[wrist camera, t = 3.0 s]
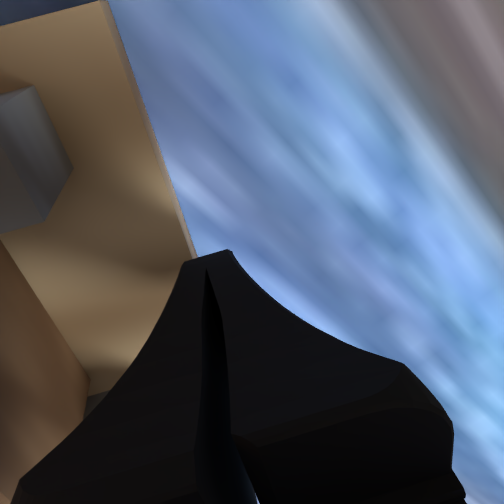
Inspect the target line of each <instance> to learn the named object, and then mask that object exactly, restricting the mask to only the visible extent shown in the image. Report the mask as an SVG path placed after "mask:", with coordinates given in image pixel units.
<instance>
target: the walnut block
mask: <svg viewBox="0 0 504 504" xmlns="http://www.w3.org/2000/svg"><path fill="white" fill-rule="evenodd" d="M90 381H91V379H90V378H89V376H88V375H87V373H86V372H85V370H84V368H83V367H82V365H81V364H80V362H79V361H78V359H77V358H76V356H75V354H74V353H73V351H72V350H71V348H70V347H69V345H68V344H67V342H66V341H65V339H64V337H63V336H62V334H61V333H60V331H59V330H58V328H57V327H56V325H55V324H54V322H53V320H52V319H51V317H50V316H49V314H48V313H47V311H46V310H45V308H44V306H43V305H42V303H41V302H40V300H39V299H38V297H37V296H36V294H35V293H34V291H33V289H32V288H31V286H30V285H29V283H28V282H27V280H26V279H25V277H24V275H23V274H22V272H21V271H20V269H19V268H18V266H17V265H16V263H15V262H14V260H13V258H12V257H11V255H10V254H9V252H8V251H7V249H6V248H5V246H4V245H3V243H2V241H1V240H0V504H10V503H11V501H12V498H13V495H14V493H15V490H16V487H17V485H18V482H19V479H20V478H21V477H22V476H24V475H25V474H26V473H27V472H28V471H30V470H31V469H32V468H33V467H34V466H35V465H36V464H37V463H38V462H39V461H41V460H42V459H43V458H44V457H45V456H46V455H47V454H48V453H49V452H51V451H52V450H53V449H54V448H55V447H56V446H57V445H58V444H59V443H61V442H62V441H63V440H64V439H65V438H66V437H67V436H68V435H69V434H70V433H71V432H72V431H73V430H74V429H75V428H76V427H77V426H78V425H79V424H80V423H81V422H82V421H83V417H84V412H85V407H86V401H87V396H88V391H89V386H90Z"/></svg>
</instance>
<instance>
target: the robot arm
mask: <svg viewBox="0 0 504 504" xmlns="http://www.w3.org/2000/svg"><path fill="white" fill-rule="evenodd" d="M453 442H454V430H453V423H452V421H451V420H450V418H449V417H448V415H447V413H446V411H445V410H444V408H443V407H442V405H441V404H440V403H439V401H438V400H437V399H436V398H435V396H434V395H433V394H432V393H431V392H430V391H429V390H428V388H427V387H426V386H425V385H424V384H423V383H422V382H421V381H420V380H419V379H418V378H417V377H416V375H415V374H414V373H413V372H412V371H411V370H410V369H409V368H408V367H407V366H406V365H405V364H403V363H401V362H398V361H395V360H392V359H389V358H386V357H382V356H379V355H376V354H373V353H370V352H367V351H364V350H362V349H359V348H357V347H354V346H352V345H349V344H347V343H345V342H343V341H341V340H339V339H337V338H335V337H333V336H331V335H329V334H327V333H325V332H323V331H321V330H319V329H317V328H315V327H314V326H312V325H310V324H309V323H307V322H306V321H304V320H302V319H301V318H299V317H298V316H296V315H295V314H293V313H292V312H290V311H289V310H288V309H286V308H285V307H284V306H282V305H281V304H280V303H278V302H277V301H276V300H275V299H274V298H272V297H271V296H270V295H269V294H268V293H266V292H265V291H264V290H263V289H262V288H261V287H260V286H259V285H258V284H257V283H256V282H255V281H254V280H253V279H252V278H251V277H250V276H249V275H248V274H247V273H246V271H245V270H244V269H243V268H242V266H241V265H240V264H239V263H238V261H237V260H236V258H235V256H234V255H233V252H232V251H230V250H228V249H226V250H223V251H219V252H216V253H212V254H209V255H205V256H202V257H198V258H195V259H191V260H188V261H184V263H183V264H182V266H181V268H180V271H179V274H178V277H177V279H176V282H175V284H174V287H173V289H172V292H171V294H170V296H169V298H168V300H167V303H166V305H165V307H164V309H163V311H162V313H161V315H160V317H159V319H158V321H157V323H156V324H155V326H154V328H153V330H152V332H151V334H150V336H149V337H148V339H147V341H146V342H145V344H144V345H143V347H142V349H141V350H140V352H139V353H138V355H137V356H136V358H135V359H134V361H133V362H132V363H131V365H130V366H129V368H128V369H127V370H126V371H125V373H124V374H123V375H122V376H121V378H120V379H119V380H118V381H117V382H116V384H115V385H114V386H113V387H112V389H111V390H110V391H109V392H108V394H107V395H106V396H105V397H104V398H103V399H102V401H101V402H100V403H99V404H98V405H97V406H96V407H95V408H94V409H93V410H92V411H91V413H90V414H89V415H88V416H87V417H86V418H85V419H84V420H83V421H82V422H81V423H80V424H79V425H78V426H77V427H76V428H75V429H74V430H73V431H72V432H71V433H70V434H69V435H68V436H67V437H66V438H65V439H64V440H63V441H62V442H61V443H59V444H58V445H57V446H56V447H55V448H54V449H53V450H52V451H51V452H49V453H48V454H47V455H46V456H45V457H44V458H43V459H42V460H41V461H39V462H38V463H37V464H36V465H35V466H34V467H33V468H32V469H31V470H30V471H28V472H27V473H26V474H25V475H24V476H22V477H21V478H20V479H19V482H18V485H17V487H16V490H15V493H14V495H13V498H12V501H11V503H10V504H257V499H256V496H257V498H258V501H259V503H260V504H467V503H466V502H465V500H464V498H465V497H466V493H465V490H464V488H463V486H462V484H461V483H460V481H459V480H458V478H457V476H456V475H455V473H454V472H453V470H452V456H453ZM255 493H256V495H255Z"/></svg>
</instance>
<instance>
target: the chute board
mask: <svg viewBox="0 0 504 504" xmlns="http://www.w3.org/2000/svg"><path fill="white" fill-rule="evenodd" d="M0 240H1V241H2V243H3V245H4V246H5V248H6V249H7V251H8V252H9V254H10V255H11V257H12V258H13V260H14V262H15V263H16V265H17V266H18V268H19V269H20V271H21V272H22V274H23V275H24V277H25V279H26V280H27V282H28V283H29V285H30V286H31V288H32V289H33V291H34V293H35V294H36V296H37V297H38V299H39V300H40V302H41V303H42V305H43V306H44V308H45V310H46V311H47V313H48V314H49V316H50V317H51V319H52V320H53V322H54V324H55V325H56V327H57V328H58V330H59V331H60V333H61V334H62V336H63V337H64V339H65V341H66V342H67V344H68V345H69V347H70V348H71V350H72V351H73V353H74V354H75V356H76V358H77V359H78V361H79V362H80V364H81V365H82V367H83V368H84V370H85V372H86V373H87V375H88V376H89V378H90V379H91V381H90V386H89V391H88V396H87V401H86V407H85V412H84V417H83V420H84V419H85V418H86V417H87V416H88V415H89V414H90V413H91V411H92V410H93V409H94V408H95V407H96V406H97V405H98V404H99V403H100V402H101V401H102V399H103V398H104V397H105V396H106V395H107V394H108V392H109V391H110V390H111V389H112V387H113V386H114V385H115V384H116V382H117V381H118V380H119V379H120V378H121V376H122V375H123V374H124V373H125V371H126V370H127V369H128V368H129V366H130V365H131V363H132V362H133V361H134V359H135V358H136V356H137V355H138V353H139V352H140V350H141V349H142V347H143V345H144V344H145V342H146V341H147V339H148V337H149V336H150V334H151V332H152V330H153V328H154V326H155V324H156V323H157V321H158V319H159V317H160V315H161V313H162V311H163V309H164V307H165V305H166V303H167V300H168V298H169V296H170V294H171V292H172V289H173V287H174V284H175V282H176V279H177V277H178V274H179V271H180V268H181V266H182V264H183V263H184V261H188V260H191V259H195V258H198V257H197V254H196V251H195V248H194V245H193V242H192V240H191V237H190V234H189V231H188V228H187V225H186V222H185V220H184V217H183V214H182V211H181V208H180V205H179V203H178V200H177V197H176V194H175V191H174V188H173V185H172V183H171V180H170V177H169V174H168V171H167V168H166V166H165V163H164V160H163V157H162V154H161V151H160V148H159V146H158V143H157V140H156V137H155V134H154V131H153V129H152V126H151V123H150V120H149V117H148V114H147V111H146V109H145V106H144V103H143V100H142V97H141V94H140V92H139V89H138V86H137V83H136V80H135V77H134V74H133V72H132V69H131V66H130V63H129V60H128V57H127V54H126V52H125V49H124V46H123V43H122V40H121V37H120V35H119V32H118V29H117V26H116V23H115V20H114V17H113V15H112V12H111V9H110V6H109V3H108V1H102V0H99V1H95V2H91V3H87V4H83V5H80V6H76V7H72V8H68V9H64V10H61V11H57V12H53V13H49V14H45V15H41V16H38V17H34V18H30V19H26V20H22V21H18V22H15V23H11V24H7V25H3V26H0Z"/></svg>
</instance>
